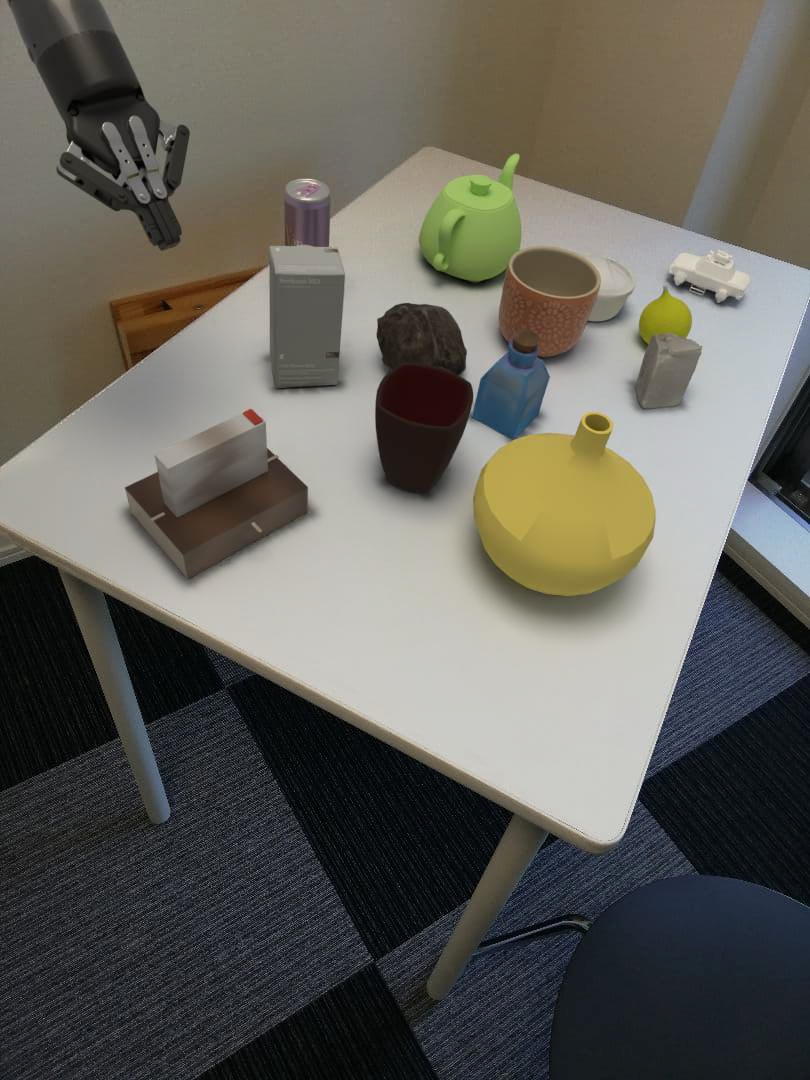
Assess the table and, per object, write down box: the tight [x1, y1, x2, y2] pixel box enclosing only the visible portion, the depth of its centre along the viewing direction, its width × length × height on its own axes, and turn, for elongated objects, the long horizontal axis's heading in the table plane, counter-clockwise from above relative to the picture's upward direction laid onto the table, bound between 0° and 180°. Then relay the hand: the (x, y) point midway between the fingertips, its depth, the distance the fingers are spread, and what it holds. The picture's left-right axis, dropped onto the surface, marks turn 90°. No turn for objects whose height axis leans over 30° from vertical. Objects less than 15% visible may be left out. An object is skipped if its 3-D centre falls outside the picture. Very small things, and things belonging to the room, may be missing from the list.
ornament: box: [638, 280, 693, 345], centre depth 107 cm, size 7×7×10 cm
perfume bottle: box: [471, 329, 551, 441], centre depth 93 cm, size 6×6×12 cm
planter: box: [498, 245, 601, 358], centre depth 104 cm, size 12×12×11 cm
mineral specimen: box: [634, 333, 703, 410], centre depth 101 cm, size 7×9×8 cm
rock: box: [376, 302, 468, 376], centre depth 98 cm, size 10×11×10 cm
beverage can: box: [283, 178, 332, 247], centre depth 104 cm, size 6×6×15 cm
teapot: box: [418, 153, 522, 283], centre depth 115 cm, size 22×15×13 cm
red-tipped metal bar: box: [154, 408, 268, 518], centre depth 77 cm, size 11×2×7 cm, turn 132°
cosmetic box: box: [268, 245, 346, 389], centre depth 93 cm, size 8×7×16 cm
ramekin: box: [577, 252, 636, 323], centre depth 113 cm, size 11×11×5 cm
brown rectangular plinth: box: [124, 447, 309, 580], centre depth 81 cm, size 15×15×4 cm
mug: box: [374, 363, 474, 494], centre depth 86 cm, size 10×14×12 cm
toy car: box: [667, 249, 751, 304], centre depth 119 cm, size 6×12×7 cm, turn 60°
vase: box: [472, 411, 656, 597], centre depth 76 cm, size 18×18×19 cm
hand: (171, 246), depth 71 cm, fingers closed
